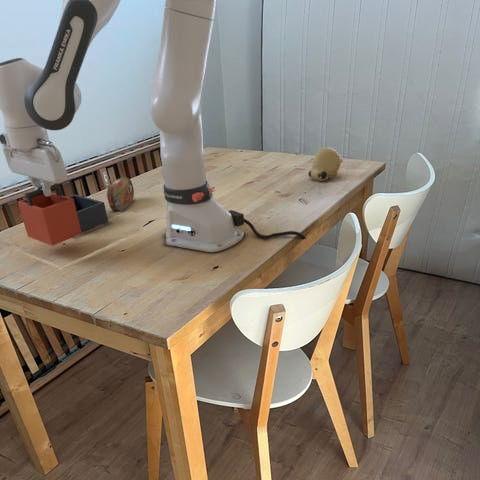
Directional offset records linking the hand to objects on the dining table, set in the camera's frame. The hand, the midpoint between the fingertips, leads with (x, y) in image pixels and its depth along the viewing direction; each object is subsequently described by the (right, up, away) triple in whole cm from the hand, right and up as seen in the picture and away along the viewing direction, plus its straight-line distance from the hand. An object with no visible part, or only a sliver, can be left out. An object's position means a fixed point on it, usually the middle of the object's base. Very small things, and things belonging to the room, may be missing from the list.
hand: (44, 194), depth 122 cm
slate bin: (0, -3, +25) cm, 25 cm away
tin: (+11, +6, +37) cm, 39 cm away
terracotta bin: (0, -9, +6) cm, 11 cm away
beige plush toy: (+79, +19, +50) cm, 95 cm away
